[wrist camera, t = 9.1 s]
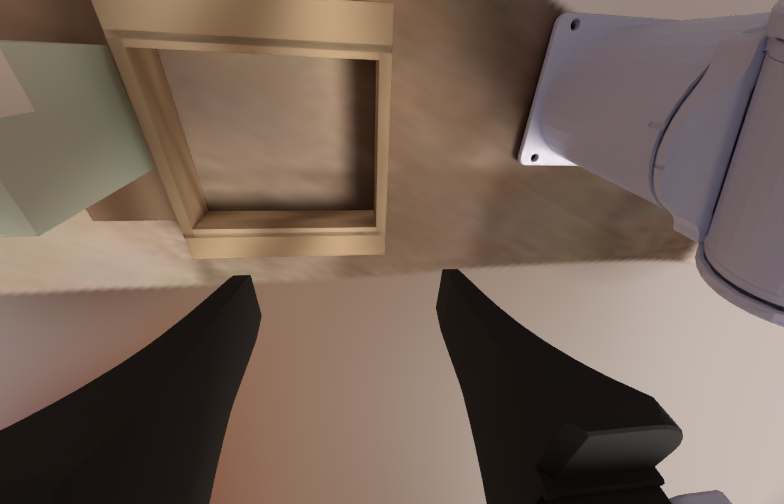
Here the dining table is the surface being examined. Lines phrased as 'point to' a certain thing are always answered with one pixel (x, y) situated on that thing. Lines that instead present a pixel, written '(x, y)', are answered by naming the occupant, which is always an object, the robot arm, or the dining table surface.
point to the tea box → (62, 133)
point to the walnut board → (81, 26)
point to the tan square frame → (255, 36)
